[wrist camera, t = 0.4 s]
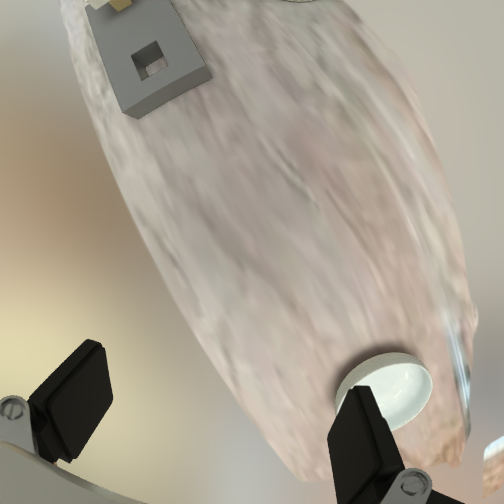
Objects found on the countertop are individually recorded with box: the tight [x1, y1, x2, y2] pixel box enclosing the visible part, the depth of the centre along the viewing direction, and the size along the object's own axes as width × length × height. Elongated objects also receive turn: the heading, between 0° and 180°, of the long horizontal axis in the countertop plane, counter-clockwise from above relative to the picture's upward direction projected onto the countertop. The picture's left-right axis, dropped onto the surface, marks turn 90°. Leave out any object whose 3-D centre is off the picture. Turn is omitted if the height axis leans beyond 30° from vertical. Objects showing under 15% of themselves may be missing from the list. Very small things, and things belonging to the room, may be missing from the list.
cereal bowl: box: [335, 352, 433, 431], centre depth 40 cm, size 17×17×7 cm
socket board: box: [85, 0, 212, 119], centre depth 30 cm, size 24×12×5 cm, turn 25°
